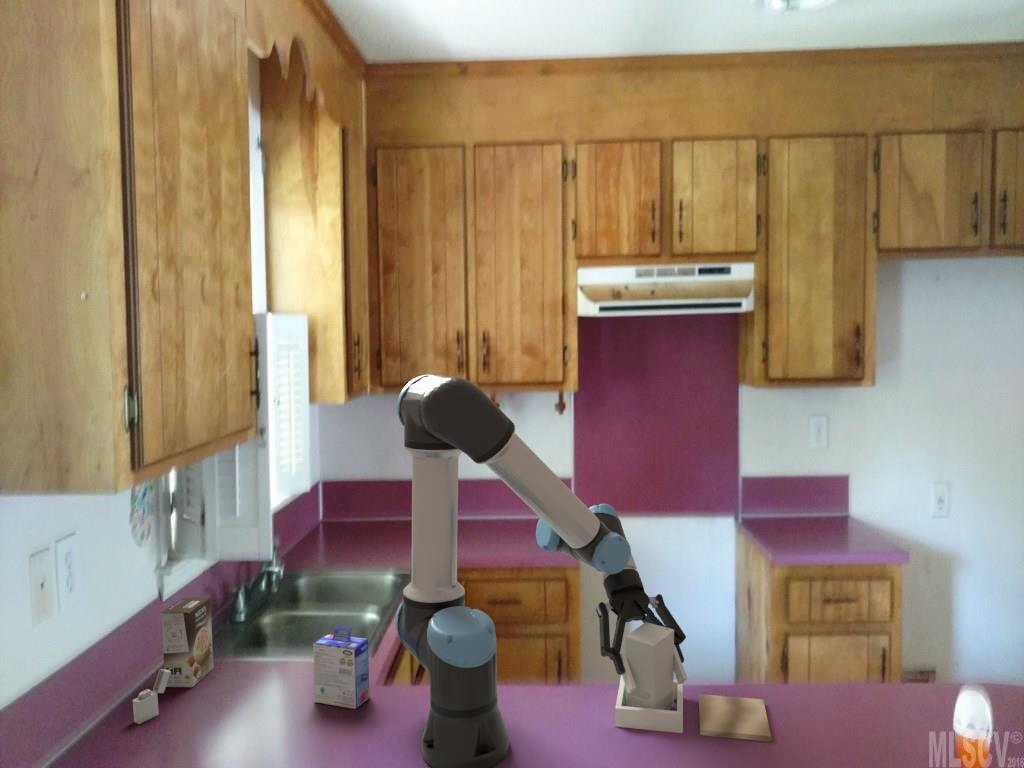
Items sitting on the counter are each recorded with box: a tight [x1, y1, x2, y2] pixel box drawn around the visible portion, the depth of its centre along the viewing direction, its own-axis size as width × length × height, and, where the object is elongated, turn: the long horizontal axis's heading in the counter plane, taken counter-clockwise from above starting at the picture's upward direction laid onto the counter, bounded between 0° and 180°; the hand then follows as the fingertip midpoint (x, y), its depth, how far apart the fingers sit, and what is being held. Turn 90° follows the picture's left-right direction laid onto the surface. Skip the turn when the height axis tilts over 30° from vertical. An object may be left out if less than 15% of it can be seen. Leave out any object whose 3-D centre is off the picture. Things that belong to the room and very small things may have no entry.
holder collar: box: [614, 674, 684, 734], centre depth 140 cm, size 12×13×4 cm
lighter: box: [132, 668, 171, 725], centre depth 144 cm, size 7×2×8 cm, turn 148°
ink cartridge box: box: [312, 625, 371, 710], centre depth 147 cm, size 10×6×14 cm, turn 71°
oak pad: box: [698, 693, 772, 743], centre depth 137 cm, size 12×13×1 cm
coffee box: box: [160, 596, 214, 688], centre depth 159 cm, size 9×6×16 cm
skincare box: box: [625, 622, 675, 710], centre depth 140 cm, size 8×7×16 cm
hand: (657, 686), depth 137 cm, fingers closed on skincare box, 10 cm apart
